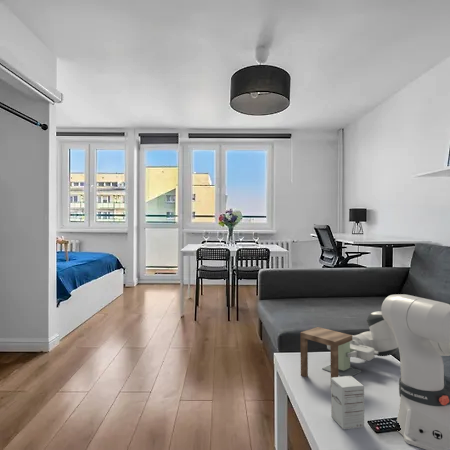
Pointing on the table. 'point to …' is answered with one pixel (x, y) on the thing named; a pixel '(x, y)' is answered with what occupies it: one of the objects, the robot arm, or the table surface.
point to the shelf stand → (322, 337)
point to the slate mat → (346, 372)
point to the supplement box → (347, 402)
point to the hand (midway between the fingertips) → (340, 353)
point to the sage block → (343, 356)
